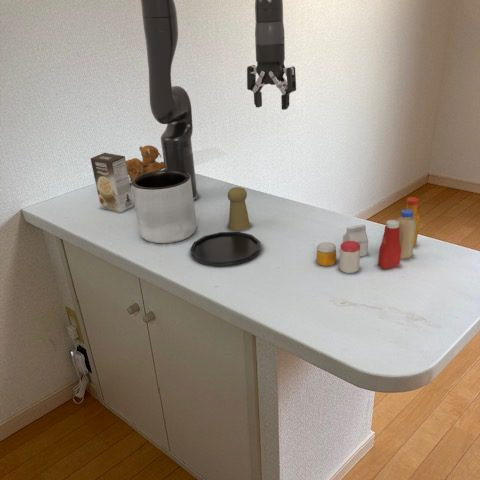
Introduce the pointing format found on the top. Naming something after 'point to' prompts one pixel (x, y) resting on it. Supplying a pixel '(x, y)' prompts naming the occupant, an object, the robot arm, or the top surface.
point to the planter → (164, 206)
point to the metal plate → (225, 249)
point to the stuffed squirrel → (144, 162)
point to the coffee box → (112, 182)
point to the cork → (238, 209)
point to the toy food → (392, 247)
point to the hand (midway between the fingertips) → (271, 108)
